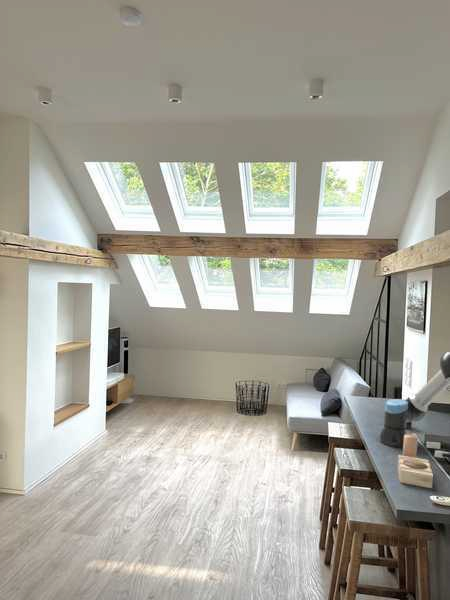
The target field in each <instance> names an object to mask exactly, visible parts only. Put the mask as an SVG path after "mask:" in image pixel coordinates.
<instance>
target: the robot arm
mask: <svg viewBox="0 0 450 600" xmlns="http://www.w3.org/2000/svg"><path fill="white" fill-rule="evenodd" d="M439 367H440V370H438V372H437V373H436V374H435V375H434V376H433V377H432V378H431V379H430V380H428V382H426V383H425V384H424V385H423V386H422V388H420V389H419V390H418V391H417V392H416V394H410V395H409V396H408V397H407V398H406V399H405V400H404V399H400V398H391V399H388V400H386V402H385V405H384V417H383V428H382V429H381V432H380V434H379V437H378V438H379V439H378V441H379V442H380V443H381V444H384V445H386V446H390V447H395V448H403V443H404V435H405V434H407V428H406V423H408V422H412V423H413V422H418V421H420V420H422V419H423V418H424V417H425V416H426V414H427V411H428V410H429V408H428V407H429V405H431V403H432V402H434V400H436V399H437V398H438V397H439V396H440V395H441V394H442V393H444V392H445V391H446V389H447V388H448V387H450V350H448V351H446V352H444V353H443V354H442V355H441V358H440V359H439ZM426 448H427V449H428V448H429V449H438V450H434V457H435V458H442V459H450V443H448V442H444V441H440V442H433V441H432V442H431V441H426ZM442 450H446V451H442ZM448 451H449V452H448Z"/></svg>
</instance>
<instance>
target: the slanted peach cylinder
mask: <svg viewBox="0 0 450 600" xmlns="http://www.w3.org/2000/svg"><path fill="white" fill-rule="evenodd" d="M418 439H419V437H418V435H415V434H410V433H406V434H405V435H404V443H403V447H402V454H401V456H407V457H413V458H417V453H418V452H417V451H418V441H419V440H418Z"/></svg>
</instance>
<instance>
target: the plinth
mask: <svg viewBox="0 0 450 600" xmlns="http://www.w3.org/2000/svg"><path fill="white" fill-rule="evenodd" d="M397 472H398V481H399V483H403V484H407V485H413V486H418V487H423V488H427V489H429V488H430V489H433V482H434V474H433V471H432V468H431V465H430V462H429V460H428V459H423V458H419V457H416V458H413V457H407V456H402V454H401V455H399V454H398V457H397Z"/></svg>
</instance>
